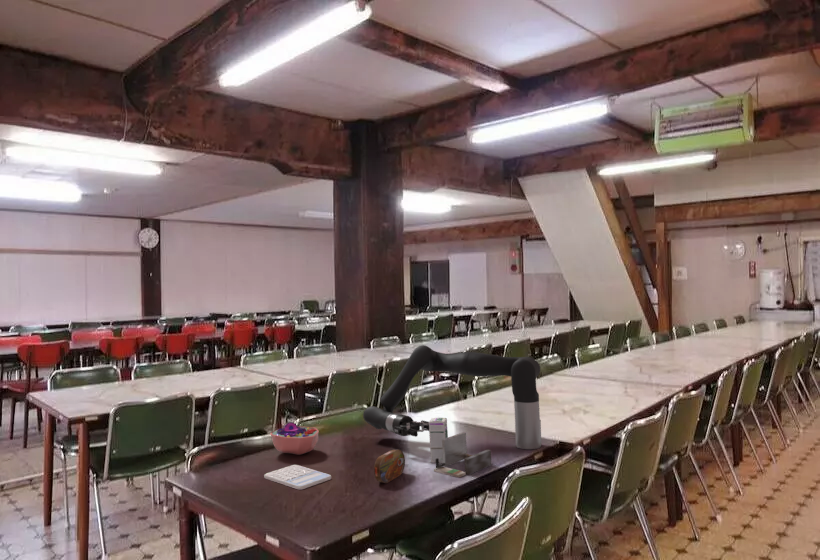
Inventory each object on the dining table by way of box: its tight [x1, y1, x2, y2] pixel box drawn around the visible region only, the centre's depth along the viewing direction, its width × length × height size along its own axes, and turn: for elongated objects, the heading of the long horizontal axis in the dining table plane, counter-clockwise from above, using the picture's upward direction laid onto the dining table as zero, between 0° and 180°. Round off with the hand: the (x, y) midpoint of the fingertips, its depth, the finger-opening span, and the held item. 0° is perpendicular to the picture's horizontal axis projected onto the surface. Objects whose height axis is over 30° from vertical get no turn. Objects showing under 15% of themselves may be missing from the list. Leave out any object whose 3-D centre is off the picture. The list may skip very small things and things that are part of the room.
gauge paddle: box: [435, 431, 468, 468], centre depth 195 cm, size 16×1×9 cm, turn 138°
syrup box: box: [428, 417, 449, 464], centre depth 202 cm, size 6×6×14 cm
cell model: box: [269, 421, 319, 456], centre depth 217 cm, size 17×20×11 cm
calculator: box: [263, 464, 332, 490], centre depth 188 cm, size 13×20×2 cm, turn 48°
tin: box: [373, 449, 406, 484], centre depth 185 cm, size 15×3×8 cm, turn 149°
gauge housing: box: [433, 449, 492, 478], centre depth 193 cm, size 18×12×5 cm, turn 138°
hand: (426, 431), depth 207 cm, fingers open, 8 cm apart
